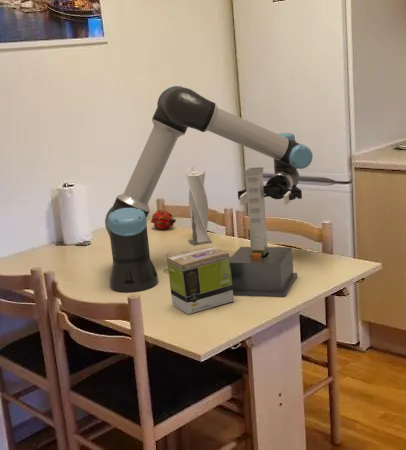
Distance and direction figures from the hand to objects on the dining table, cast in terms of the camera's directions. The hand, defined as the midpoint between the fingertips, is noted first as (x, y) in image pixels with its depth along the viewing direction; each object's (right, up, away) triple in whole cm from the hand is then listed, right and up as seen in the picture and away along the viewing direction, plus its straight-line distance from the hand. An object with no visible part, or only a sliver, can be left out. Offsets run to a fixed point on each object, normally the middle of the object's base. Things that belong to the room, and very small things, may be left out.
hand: (262, 200), depth 209 cm
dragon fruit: (-34, -9, +78) cm, 85 cm away
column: (-1, -16, -3) cm, 16 cm away
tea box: (-18, -30, -11) cm, 37 cm away
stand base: (0, -25, 0) cm, 25 cm away
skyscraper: (-19, -14, +54) cm, 59 cm away
